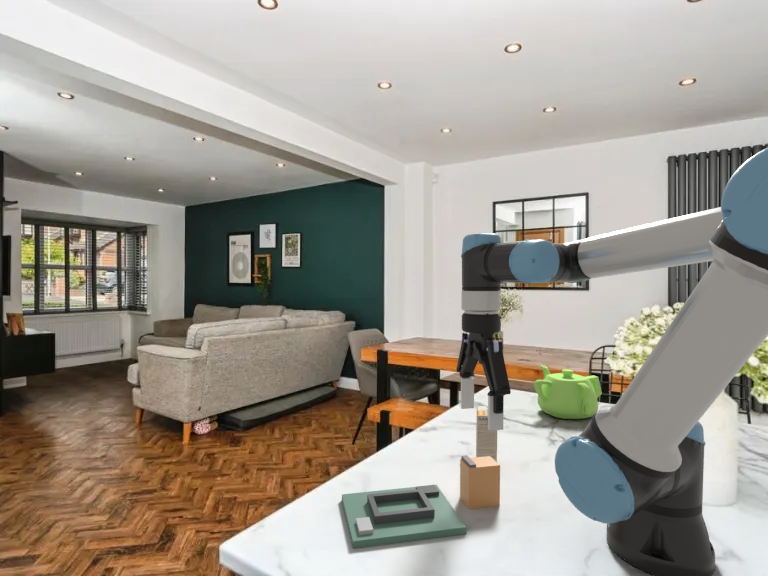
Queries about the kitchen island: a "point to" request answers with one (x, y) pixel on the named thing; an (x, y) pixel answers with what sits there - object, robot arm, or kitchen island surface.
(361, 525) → the header board
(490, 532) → the kitchen island surface
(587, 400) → the teapot
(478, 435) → the supplement box
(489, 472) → the plug
